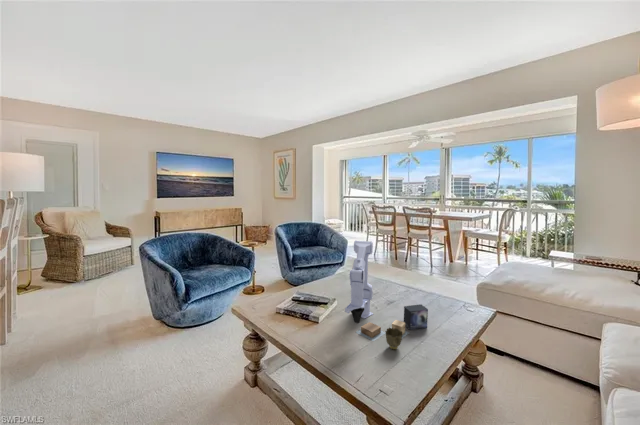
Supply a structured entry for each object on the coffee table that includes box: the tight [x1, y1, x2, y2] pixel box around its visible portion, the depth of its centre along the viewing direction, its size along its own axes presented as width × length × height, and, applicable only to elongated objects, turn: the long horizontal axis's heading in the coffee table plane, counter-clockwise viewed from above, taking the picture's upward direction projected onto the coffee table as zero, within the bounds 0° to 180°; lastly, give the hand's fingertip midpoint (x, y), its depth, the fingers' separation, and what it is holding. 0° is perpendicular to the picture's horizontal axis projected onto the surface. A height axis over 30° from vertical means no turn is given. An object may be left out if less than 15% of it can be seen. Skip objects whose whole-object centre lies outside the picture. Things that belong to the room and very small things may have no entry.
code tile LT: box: [355, 328, 386, 342], centre depth 138 cm, size 11×11×1 cm
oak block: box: [391, 319, 406, 335], centre depth 138 cm, size 5×5×5 cm
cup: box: [384, 327, 403, 351], centre depth 125 cm, size 8×7×8 cm
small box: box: [403, 303, 429, 331], centre depth 144 cm, size 11×6×10 cm, turn 104°
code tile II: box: [402, 330, 410, 339], centre depth 138 cm, size 8×8×1 cm
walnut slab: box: [360, 321, 382, 338], centre depth 138 cm, size 7×7×3 cm
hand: (356, 322), depth 130 cm, fingers closed
